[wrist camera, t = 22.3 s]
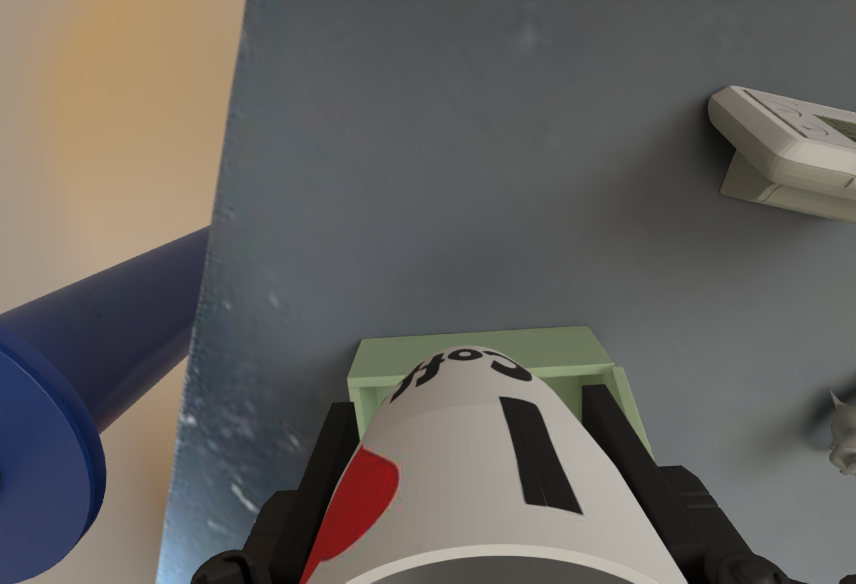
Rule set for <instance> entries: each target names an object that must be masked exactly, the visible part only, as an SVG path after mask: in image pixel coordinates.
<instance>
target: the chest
mask: <svg viewBox="0 0 856 584" xmlns="http://www.w3.org/2000/svg"><path fill="white" fill-rule="evenodd" d="M456 346H480V347H486V348H490V349H493V350H496V351H498V352H500V353H502V354H504V355H506V356H508V357H509V358H511V359H512V360H514V361H515V362H516V363H518V364H519V365H521V366H522V367H523V368H525V369H526V370H528V371H529V372H530V373H532V374H533V375H535V376H536V377H537V378H539V379H540V380H542V381H543V382H544V383H545V384H547V385H548V386H549V387H550V388H551V389H552V390H553V391H554V392H555V393H556V394H557V396H558V397H559V398H560V399H561V400H562V402H563V403H564V404H565V405H566V407H567V408H568V409H569V410H570V411H571V413H572V414H573V415H574V416H575V417H576V419H577V420H578V421H579V422H580V423H581V425H582V385H596V384H605V385H606V386H607V388H608V389H609V391H610V377H611V367H614V362H613V361H612V359H611V358H610V357H609V355H608V354H607V352H606V351H605V350H604V348H603V347H602V345H601V344H600V343H599V341H598V340H597V338H596V337H595V336H594V334H593V333H592V332H591V330H590V329H589V327H588V326H587V325H585V326H569V327H552V328H536V329H519V330H503V331H486V332H470V333H453V334H437V335H420V336H404V337H387V338H371V339H362V340H361V343H360V345H359V348H358V351H357V353H356V356H355V358H354V361H353V364H352V366H351V369H350V371H349V374H348V377H347V384H348V390H349V397H350V402H354V406H355V412H356V418H357V424H358V430H359V436H360V441H361V439H362V437H363V435H364V434H365V432H366V430H367V428H368V426H369V424H370V423H371V421H372V419H373V417H374V415H375V414H376V412H377V410H378V408H379V407H380V405H381V403H382V402H383V401H384V399H385V398H386V397H387V396H388V394H389V393H390V392H391V391H392V390H393V389H394V388H395V387H396V386H397V385H398V384H399V383H400V382H401V381H402V380H403V379H404V378H405V377H406V376H407V374H408V373H409V372H410V371H411V370H412V369H413V368H414V367H415V366H416V365H417V364H418V363H420V362H421V361H422V360H423V359H425V358H426V357H428V356H430V355H432V354H433V353H436V352H438V351H440V350H443V349H447V348H450V347H456Z"/></svg>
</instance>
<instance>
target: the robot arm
mask: <svg viewBox="0 0 856 584" xmlns="http://www.w3.org/2000/svg"><path fill="white" fill-rule="evenodd" d="M582 426H583V427H584V428H585V430H586V431H587V432H588V433H589V434H590V436H591V437H592V438H593V439H594V440H595V442H596V443H597V444H598V445H599V446H600V448H601V449H602V450H603V451H604V452H605V454H606V455H607V456H608V457H609V459H610V460H611V461H612V462H613V464H614V465H615V466H616V468H617V469H618V471H619V473H620V474H621V476H622V477H623V479H624V481H625V482H626V484H627V485H628V487H629V489H630V490H631V492H632V494H633V495H634V497H635V498H636V500H637V502H638V503H639V505H640V507H641V508H642V510H643V511H644V513H645V515H646V516H647V518H648V520H649V521H650V523H651V524H652V526H653V528H654V529H655V531H656V532H657V534H658V536H659V537H660V539H661V541H662V542H663V544H664V545H665V547H666V549H667V550H668V552H669V554H670V555H671V557H672V558H673V560H674V562H675V563H676V565H677V567H678V568H679V570H680V571H681V573H682V575H683V576H684V578H685V580H686V581H687V583H688V584H807V583H803V582H799V581H796V580H792V579H790V578H788V577H787V575H786V574H785V573H784V572H783V571H782V570H781V569H780V568H779V567H778V566H777V565H775V564H773V563H772V562H770V561H769V560H767V559H765V558H764V557H761V556H758V555H755V554H754V553H753V552H752V551H751V549H750V548H749V547H748V545H747V544H746V543H745V541H744V540H743V538H742V537H741V536H740V534H739V533H738V532H737V530H736V529H735V528H734V526H733V525H732V523H731V522H730V521H729V519H728V518H727V517H726V515H725V514H724V512H723V511H722V510H721V508H719V507H718V504H717V503H716V501H715V500H714V499H713V497H712V496H711V495H709V492H708V491H707V489H706V488H705V486H704V485H703V484H702V482H701V481H700V480H699V478H698V477H696V476H695V475H694V474H692V473H691V472H690V471H688V470H687V469H685V468H684V467H683V466H681V465H680V466H664V467H657V465H656V463H655V462H654V460H653V459H652V457H651V456H650V454H649V452H648V451H647V449H646V448H645V446H644V444H643V443H642V441H641V440H640V438H639V437H638V435H637V433H636V432H635V430H634V429H633V427H632V426H631V424H630V422H629V421H628V419H627V418H626V416H625V415H624V413H623V411H622V410H621V408H620V407H619V405H618V404H617V402H616V400H615V399H614V397H613V396H612V394H611V392H610V391H609V389H608V388H607V386H606V385H605V384H596V385H582ZM359 443H360V436H359V430H358V424H357V418H356V412H355V406H354V402H341V403H332V404H331V407H330V409H329V412H328V415H327V417H326V420H325V422H324V425H323V427H322V430H321V432H320V435H319V437H318V440H317V443H316V445H315V448H314V450H313V453H312V455H311V458H310V460H309V463H308V465H307V468H306V471H305V473H304V476H303V478H302V481H301V483H300V486H299V488H298V490H291V491H276V492H275V493H274V494H273V495H272V496H271V498H270V499H269V500H268V501H267V502H266V503H265V504H264V505H263V507H262V509H261V511H260V513H259V515H258V517H257V519H256V523H255V524H254V526H253V528H252V530H251V532H250V533H251V534H250V535H249V536H248V539H247V541H246V543H245V545H244V547H243V549H242V550H235V549H234V550H229V551H225V552H222V553H219V554H217V555H215V556H213V557H211V558H210V559H209V560H207V561H206V562H205V563H204V564H202V565H201V566H200V567H199V569H198V570H197V571H196V573H195V574H194V575H193V577H192V580H191V583H190V584H299V583H300V580H301V577H302V575H303V572H304V569H305V567H306V564H307V561H308V559H309V556H310V553H311V551H312V548H313V545H314V543H315V540H316V538H317V535H318V532H319V530H320V527H321V524H322V522H323V519H324V516H325V514H326V511H327V508H328V506H329V503H330V500H331V498H332V495H333V492H334V490H335V487H336V485H337V483H338V481H339V479H340V477H341V476H342V474H343V472H344V470H345V468H346V466H347V465H348V463H349V461H350V459H351V457H352V455H353V454H354V452H355V450H356V448H357V446H358V445H359ZM1 485H2V476H1V470H0V492H1ZM839 584H856V574H855V575H847V576H846V577H844V578H843V579H841V580H840V582H839Z"/></svg>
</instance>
